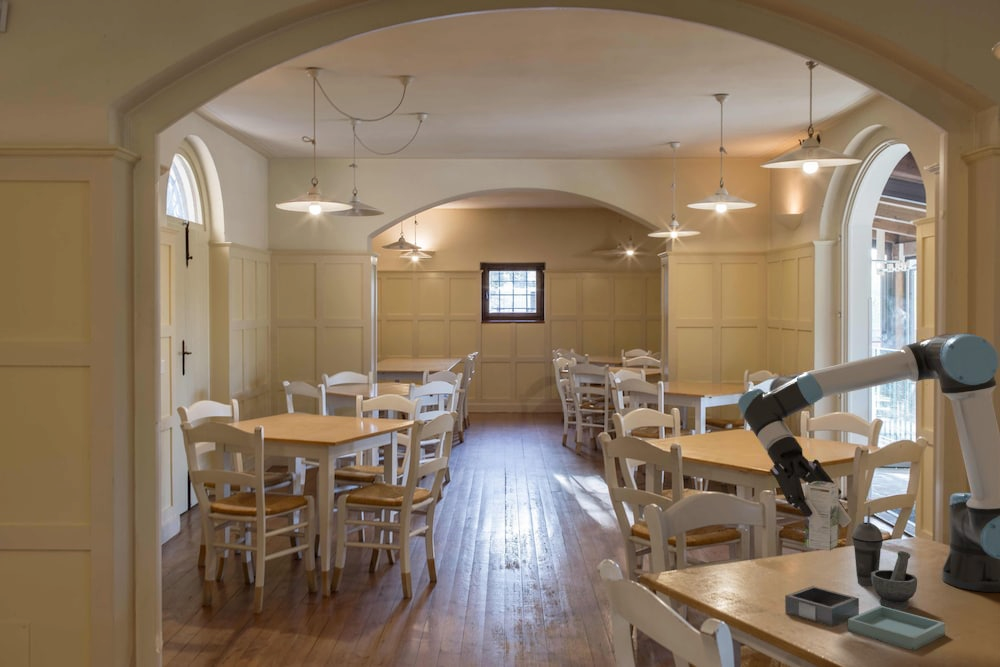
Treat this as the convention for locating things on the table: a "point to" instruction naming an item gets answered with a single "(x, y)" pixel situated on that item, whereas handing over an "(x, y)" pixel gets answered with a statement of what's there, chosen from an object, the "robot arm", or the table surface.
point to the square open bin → (822, 605)
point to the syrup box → (823, 515)
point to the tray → (896, 627)
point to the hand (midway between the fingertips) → (833, 525)
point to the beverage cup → (867, 550)
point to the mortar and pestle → (895, 584)
